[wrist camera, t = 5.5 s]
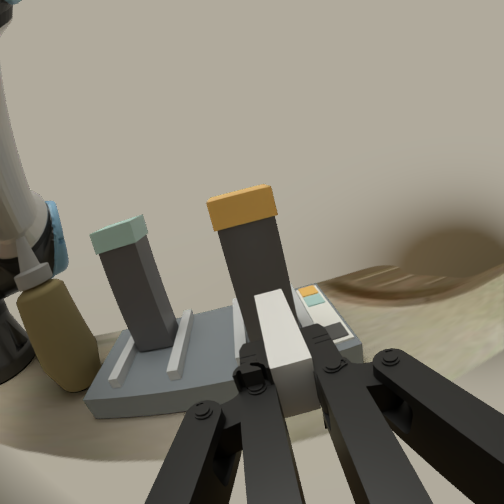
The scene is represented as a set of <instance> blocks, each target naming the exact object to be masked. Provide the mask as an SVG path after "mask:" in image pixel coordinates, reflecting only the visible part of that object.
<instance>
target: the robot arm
mask: <svg viewBox="0 0 504 504" xmlns="http://www.w3.org/2000/svg"><path fill="white" fill-rule="evenodd" d="M20 1H21V0H0V36H1V35H2V33H3V32H4V31H5V29H6V28H7V27H8V25H9V24H10V23H11V21H12V8H13V4H17V3H18V2H20ZM23 236H25V238H26V240H27V242H28V243H29V245H30V247H31V249H32V251H33V252H34V254H35V256H36V258H37V259H38V261H39V263H40V264H42V263H46V262H48V263H49V266H50V269H51V271H52V274H53V275H52V277H51V278H53V277H54V276H55V275H57V274H59V273H61V272H63V271H64V270H65V269H66V268H67V267H68V254H67V249H66V244H65V241H64V236H63V231H62V226H61V222H60V218H59V214H58V210H57V206H56V204H55V202H54V201H44V200H43V198H42V197H41V196H40V195H39V194H38V193H36V192H34V191H32V190H30V188H29V185H28V183H27V180H26V177H25V174H24V171H23V167H22V164H21V161H20V158H19V154H18V151H17V147H16V144H15V140H14V136H13V132H12V128H11V124H10V119H9V115H8V110H7V105H6V100H5V94H4V89H3V82H2V75H1V67H0V383H2V382H4V381H6V380H8V379H9V378H11V377H13V376H14V375H15V374H17V373H18V372H19V371H21V370H22V369H23V368H24V367H25V366H26V365H27V364H28V363H29V362H30V361H31V359H32V358H33V356H34V355H35V351H34V349H33V347H32V344H31V342H30V339H29V337H28V334H27V332H26V331H25V330H24V329H23V328H22V327H21V326H20V324H19V323H18V322H17V321H16V320H15V319H14V317H13V316H12V315H11V314H10V312H9V310H8V308H7V306H6V304H5V301H4V298H6V297H8V296H10V295H12V294H14V293H16V292H19V290H18V287H17V285H16V282H15V280H14V277H15V276H17V275H18V274H20V267H19V261H18V254H17V246H16V240H17V239H19V238H21V237H23ZM51 278H50V279H51ZM254 297H255V302H256V307H257V312H258V316H259V321H260V326H261V331H262V335H263V339H261V340H257V341H253V342H249V343H245V344H243V345H242V346H241V348H240V350H239V358H240V365H239V366H238V367H237V368H236V369H235V370H234V371H233V375H232V377H233V379H234V382H235V384H236V387H237V390H238V392H239V393H238V394H237V396H235V397H234V398H233V399H231V400H229V401H227V402H225V403H223V404H221V405H219V403H217V402H215V401H212V400H204V401H200V402H198V403H195V404H194V405H192V406H191V407H190V408H189V409H188V411H187V412H186V414H185V417H184V419H183V421H182V423H181V425H180V427H179V430H178V432H177V434H176V436H175V438H174V441H173V443H172V445H171V447H170V449H169V452H168V454H167V456H166V458H165V460H164V462H163V465H162V467H161V469H160V471H159V473H158V476H157V478H156V480H155V482H154V484H153V486H152V489H151V491H150V493H149V495H148V498H147V499H146V502H145V504H229V500H230V497H231V493H232V489H233V485H234V481H235V477H236V473H237V469H238V465H239V461H240V457H241V450H243V458H244V472H245V483H246V495H247V504H306V503H305V499H304V495H303V491H302V486H301V482H300V478H299V474H298V470H297V466H296V462H295V458H294V454H293V450H292V445H291V441H290V437H289V433H288V429H287V425H286V422H285V418H288V417H291V416H295V415H299V414H303V413H306V412H310V411H313V410H316V409H320V408H321V407H322V411H323V417H324V424H325V429H326V428H328V431H329V433H330V436H331V439H332V441H333V444H334V447H335V450H336V452H337V455H338V458H339V460H340V463H341V466H342V468H343V471H344V474H345V477H346V479H347V482H348V484H349V487H350V490H351V493H352V495H353V498H354V501H355V504H433V502H432V501H431V499H430V497H429V495H428V493H427V492H426V490H425V488H424V486H423V485H422V483H421V481H420V479H419V477H418V475H417V474H416V472H415V470H414V468H413V466H412V465H411V463H410V461H409V459H408V458H407V456H406V454H405V452H404V451H403V449H402V447H401V445H400V444H399V442H398V440H397V439H396V437H395V435H394V433H393V432H392V431H394V432H395V433H396V434H397V435H398V436H399V437H400V438H401V439H402V440H403V441H404V442H405V443H406V444H408V445H409V446H410V447H411V448H412V449H413V450H414V451H415V452H416V453H417V454H419V455H420V456H421V457H422V458H423V459H424V460H425V461H426V462H427V463H429V464H430V465H431V466H432V467H433V468H434V469H435V470H436V471H438V472H439V473H440V474H441V475H442V476H444V478H446V479H447V480H448V481H449V482H450V483H451V484H452V485H454V486H455V487H456V488H457V489H458V490H459V491H461V492H462V493H463V494H464V495H465V496H466V497H468V498H469V499H470V500H471V501H472V502H473V503H475V504H504V415H503V414H502V413H500V412H498V411H497V410H495V409H494V408H492V407H491V406H489V405H487V404H486V403H484V402H483V401H481V400H480V399H478V398H476V397H475V396H473V395H472V394H470V393H468V392H467V391H465V390H464V389H462V388H460V387H459V386H457V385H456V384H454V383H453V382H451V381H450V380H448V379H446V378H445V377H443V376H442V375H440V374H439V373H437V372H435V371H434V370H432V369H431V368H429V367H428V366H426V365H424V364H423V363H421V362H420V361H418V360H417V359H415V358H413V357H412V356H410V355H409V354H407V353H406V352H404V351H402V350H399V349H393V348H391V349H385V350H383V351H380V352H379V353H377V354H376V355H375V356H374V358H373V362H369V363H358V364H357V363H351V362H350V361H349V360H348V359H347V358H345V357H342V355H341V354H340V352H339V350H338V349H337V347H336V345H335V344H334V342H333V340H332V339H331V337H330V335H329V334H328V332H327V330H326V329H325V327H323V326H322V325H320V324H318V323H316V324H313V325H309V326H306V327H302V328H299V327H298V325H297V323H296V321H295V318H294V316H293V314H292V312H291V310H290V307H289V305H288V303H287V301H286V298H285V296H284V294H283V292H282V289H278V290H274V291H270V292H267V293H263V294H259V295H255V296H254ZM320 405H321V407H320Z"/></svg>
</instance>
